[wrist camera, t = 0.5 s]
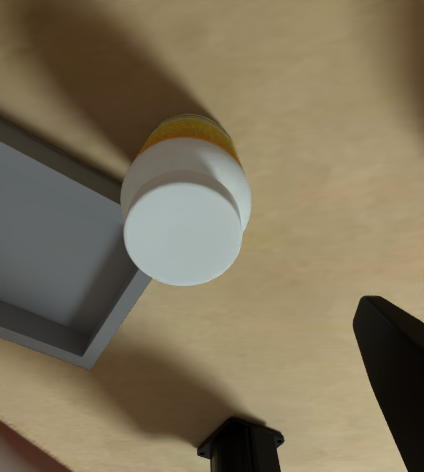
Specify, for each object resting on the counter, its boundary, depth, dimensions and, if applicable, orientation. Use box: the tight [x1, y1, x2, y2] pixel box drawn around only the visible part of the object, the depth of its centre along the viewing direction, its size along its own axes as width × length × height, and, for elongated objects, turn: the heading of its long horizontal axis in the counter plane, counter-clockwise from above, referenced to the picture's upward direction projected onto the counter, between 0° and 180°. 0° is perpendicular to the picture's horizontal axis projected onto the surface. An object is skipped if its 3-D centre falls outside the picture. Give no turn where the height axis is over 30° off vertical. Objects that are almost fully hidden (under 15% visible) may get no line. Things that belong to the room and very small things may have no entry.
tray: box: [0, 118, 152, 370], centre depth 21 cm, size 13×13×2 cm
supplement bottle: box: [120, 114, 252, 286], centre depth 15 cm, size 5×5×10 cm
